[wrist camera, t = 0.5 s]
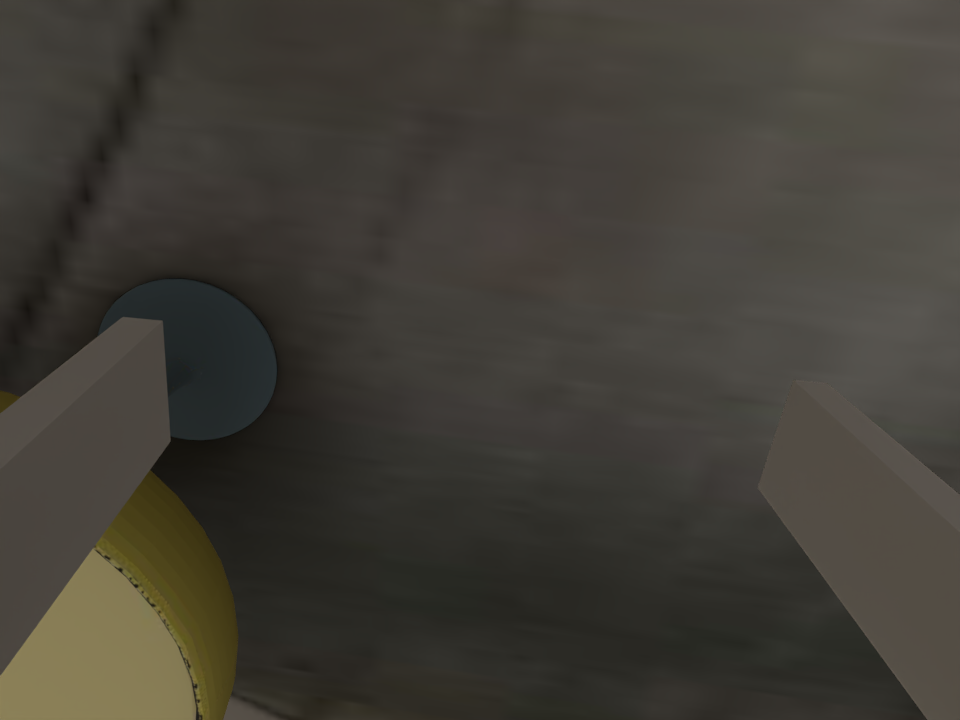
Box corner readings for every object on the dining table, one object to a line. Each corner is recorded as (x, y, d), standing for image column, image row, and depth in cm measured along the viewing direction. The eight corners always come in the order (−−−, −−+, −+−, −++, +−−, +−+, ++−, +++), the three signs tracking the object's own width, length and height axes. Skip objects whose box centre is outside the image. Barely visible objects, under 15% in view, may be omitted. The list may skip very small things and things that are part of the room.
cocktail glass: (150, 147, 38) (-315, 270, 15) (396, 358, 43) (339, 688, 20) (-23, 366, 42) (-590, 724, 19) (219, 531, 48) (8, 964, 25)
